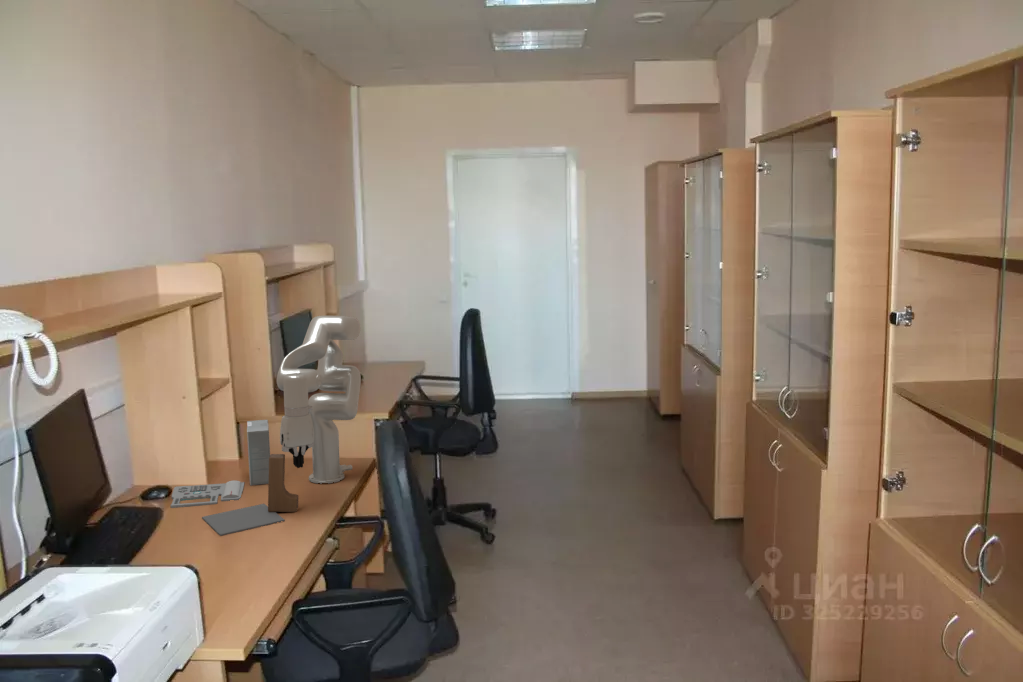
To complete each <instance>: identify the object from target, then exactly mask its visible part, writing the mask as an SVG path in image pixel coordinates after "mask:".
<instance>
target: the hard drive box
mask: <svg viewBox="0 0 1023 682" xmlns="http://www.w3.org/2000/svg"><path fill="white" fill-rule="evenodd" d="M246 440H247V454H248V456H247V457H248V459H247V460H248V475H249V477H248V478H249V486H260V485H268V484H269V457H270V455H271V444H270V442H271V441H270V427H269V420H268V419H258V420H247V421H246Z"/></svg>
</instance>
